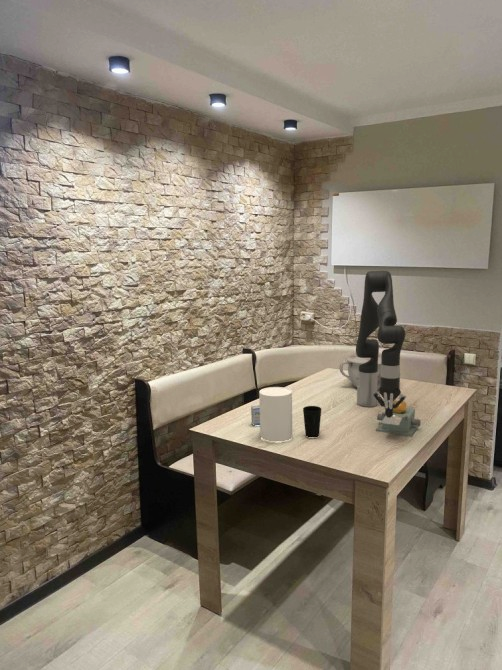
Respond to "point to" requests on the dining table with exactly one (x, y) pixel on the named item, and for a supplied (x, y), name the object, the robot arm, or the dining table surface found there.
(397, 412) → the orange domed cylinder
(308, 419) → the cup
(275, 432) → the canister
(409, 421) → the grey-green knobbed device
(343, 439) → the dining table surface
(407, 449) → the dining table surface
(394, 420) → the bar
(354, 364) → the chamber pot
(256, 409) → the medicine box
